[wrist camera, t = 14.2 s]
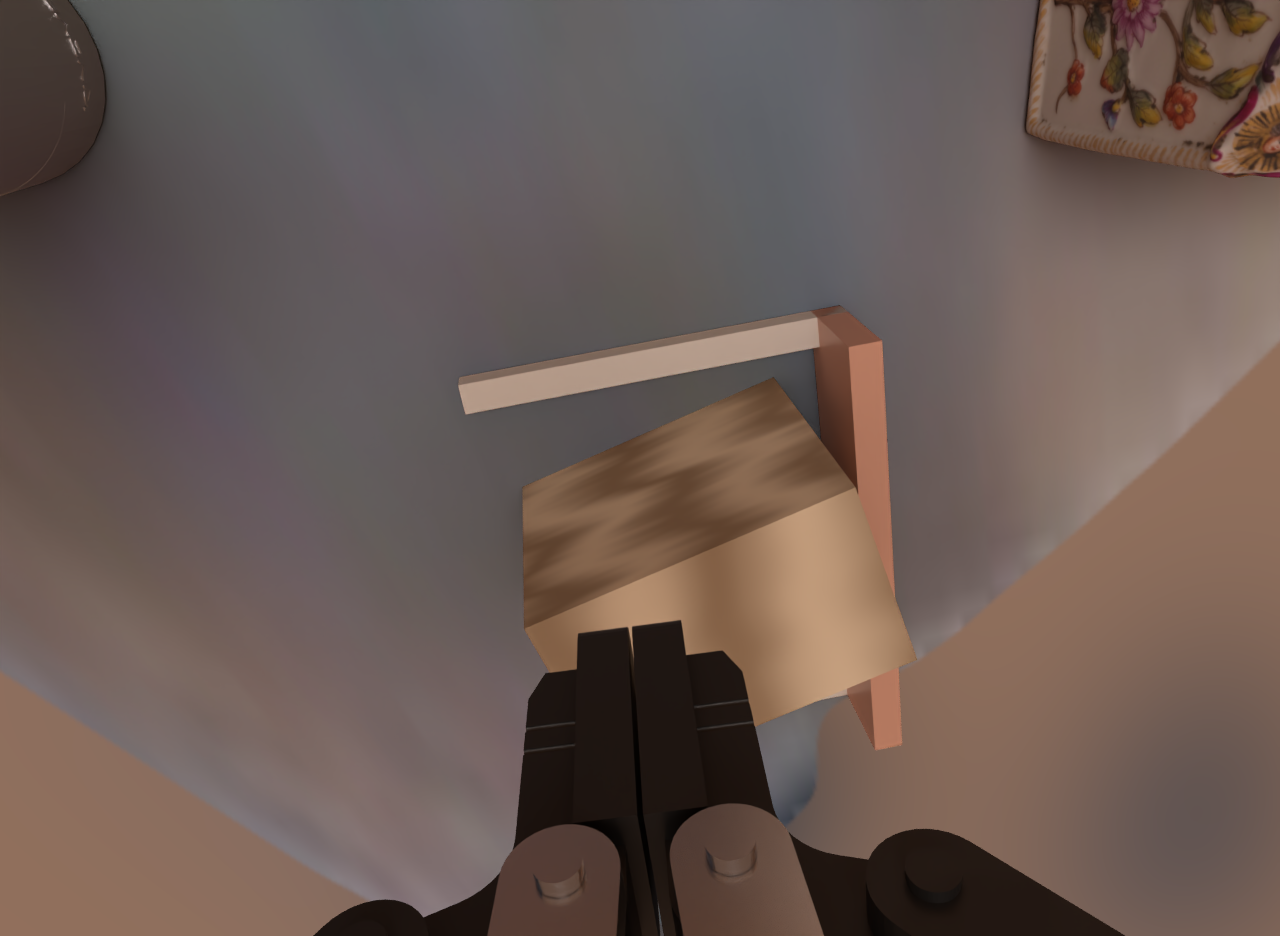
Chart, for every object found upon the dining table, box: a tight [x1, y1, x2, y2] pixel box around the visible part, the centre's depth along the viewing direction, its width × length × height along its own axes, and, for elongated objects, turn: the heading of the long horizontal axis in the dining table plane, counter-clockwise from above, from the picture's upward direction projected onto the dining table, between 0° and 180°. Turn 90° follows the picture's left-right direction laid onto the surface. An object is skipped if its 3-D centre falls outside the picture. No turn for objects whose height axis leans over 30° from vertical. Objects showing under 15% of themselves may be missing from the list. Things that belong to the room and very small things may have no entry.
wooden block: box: [523, 377, 917, 726], centre depth 45 cm, size 14×9×13 cm, turn 113°
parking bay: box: [458, 305, 902, 750], centre depth 49 cm, size 19×23×6 cm
